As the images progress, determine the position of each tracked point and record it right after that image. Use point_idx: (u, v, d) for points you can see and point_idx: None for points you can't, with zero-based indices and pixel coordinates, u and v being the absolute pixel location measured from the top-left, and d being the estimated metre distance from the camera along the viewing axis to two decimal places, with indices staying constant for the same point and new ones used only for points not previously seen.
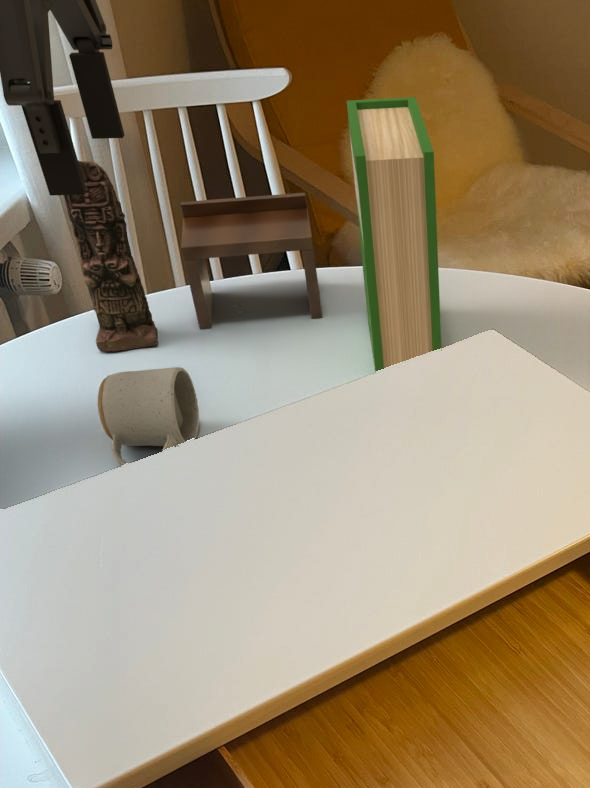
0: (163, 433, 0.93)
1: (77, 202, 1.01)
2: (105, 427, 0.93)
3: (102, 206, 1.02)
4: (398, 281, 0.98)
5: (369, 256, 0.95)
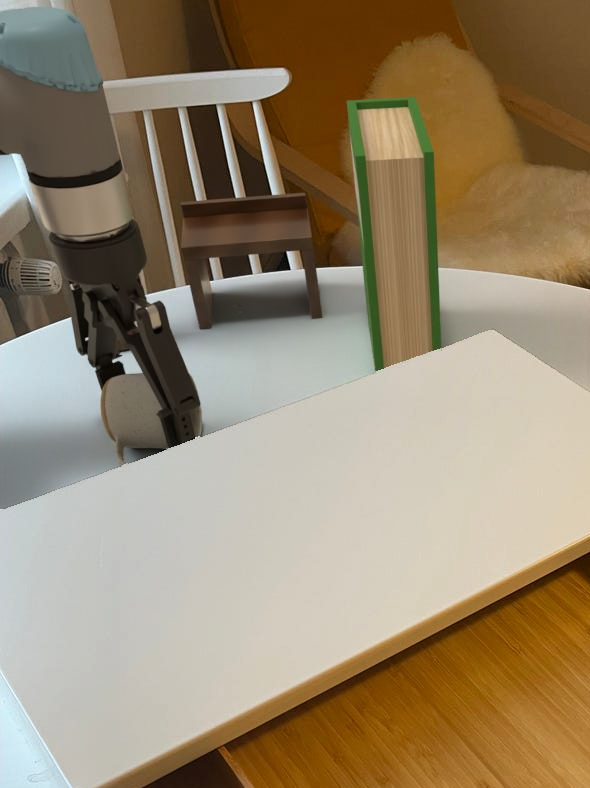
0: None
1: None
2: (108, 429, 0.92)
3: None
4: (398, 281, 0.98)
5: (369, 256, 0.95)
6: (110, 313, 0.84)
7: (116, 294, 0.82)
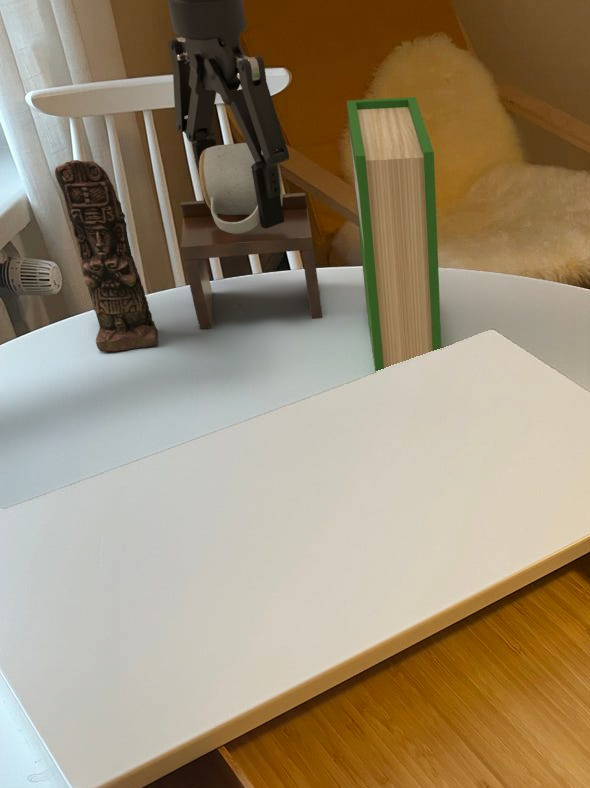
0: (255, 196, 1.06)
1: (77, 202, 1.01)
2: (205, 191, 1.07)
3: (101, 205, 1.02)
4: (398, 281, 0.98)
5: (369, 256, 0.95)
6: (215, 70, 0.98)
7: (221, 50, 0.96)
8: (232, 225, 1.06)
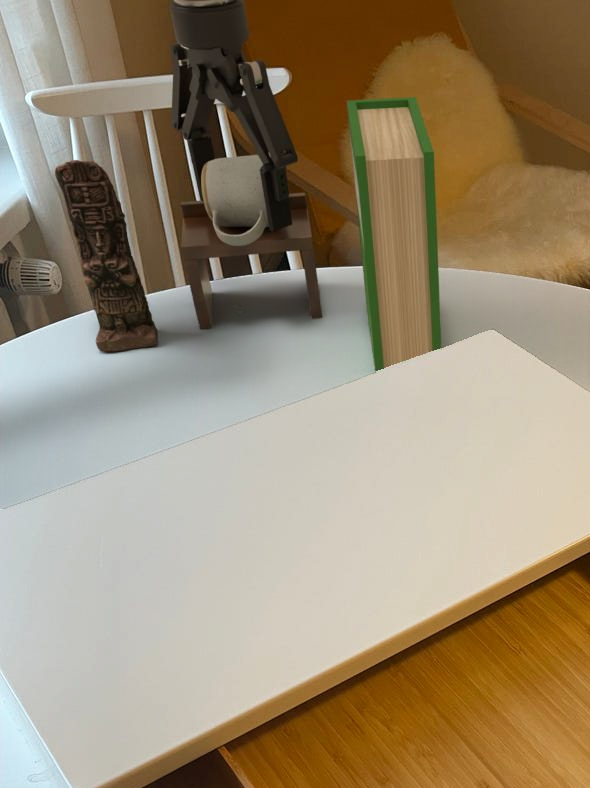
0: (257, 209, 1.07)
1: (77, 202, 1.01)
2: (207, 203, 1.07)
3: (101, 205, 1.02)
4: (398, 281, 0.98)
5: (369, 256, 0.95)
6: (218, 79, 0.98)
7: (224, 60, 0.97)
8: (234, 238, 1.07)
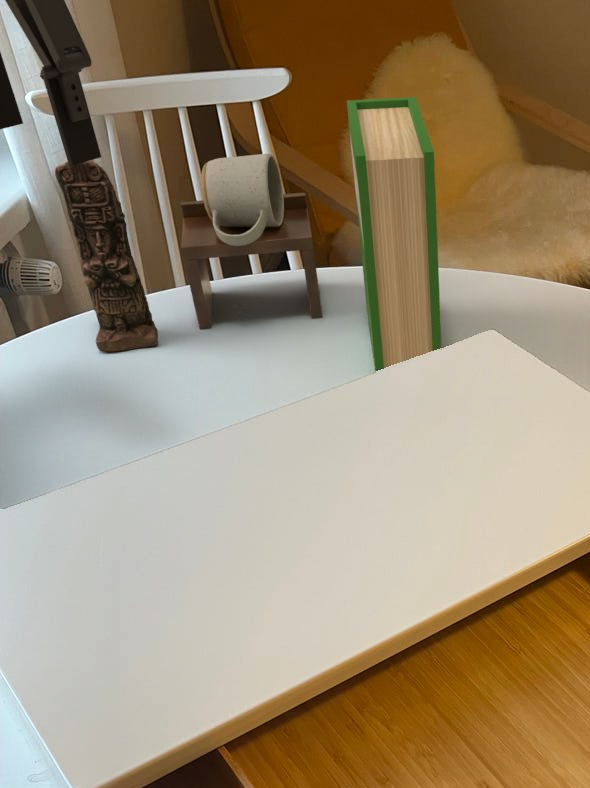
0: (257, 209, 1.07)
1: (77, 202, 1.01)
2: (207, 203, 1.07)
3: (102, 206, 1.02)
4: (398, 281, 0.98)
5: (369, 256, 0.95)
6: None
7: None
8: (234, 238, 1.07)
